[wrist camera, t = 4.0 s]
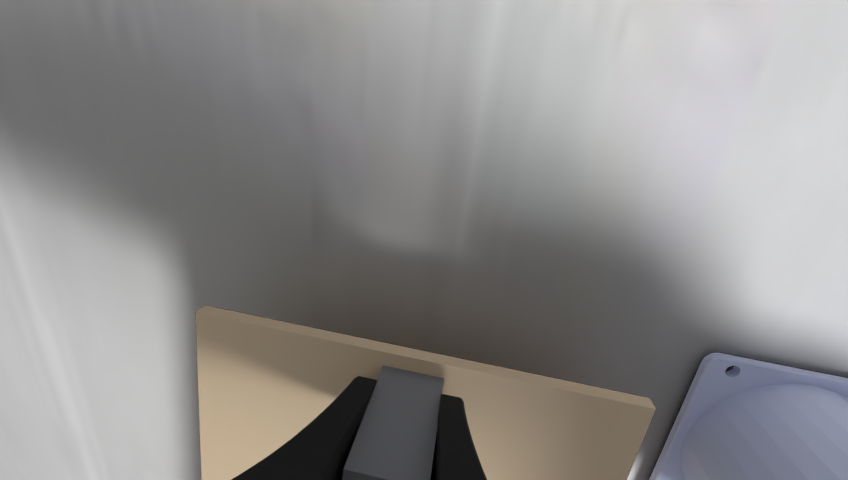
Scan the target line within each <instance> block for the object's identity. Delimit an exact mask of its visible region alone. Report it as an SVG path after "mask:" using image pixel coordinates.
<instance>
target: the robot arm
mask: <svg viewBox="0 0 848 480" xmlns="http://www.w3.org/2000/svg"><path fill="white" fill-rule="evenodd" d="M730 366H734V368H733V369H732V370H729V371H726V369H727V368H728V367H730ZM376 383H377V380H375V379H371V378H366V377H361V376H357V377H356V378H354V379H353V381H352V382H351V383H350V384H349V385H348V386H347V387H346V388H345V390H344V391H343V392H342V393H341V394H340V395H339V396H338V397H337V398H336V399H335V400H334V401H333V402H332V403H331V404H330V405H329V406H328V407H327V408H326V409H325V410H324V411H323V412H322V413H320V414H319V415H318V416H317V417H316V418H315V419H314V420H313V421H312V422H311V423H309V424H308V425H307V426H306V427H305V428H303V429H302V430H301V431H300V432H299V433H298V434H296V435H295V436H294V437H293V438H292V439H290V440H289V441H288V442H286V443H285V444H284V445H282V446H281V447H280V448H278V449H277V450H276V451H274V452H273V453H271V454H270V455H269V456H267V457H266V458H264V459H263V460H261V461H260V462H258V463H257V464H255V465H254V466H252V467H251V468H249V469H247V470H246V471H244V472H243V473H241V474H240V475H238V476H236V477H235V478H233V479H231V480H342V477H343V469H344V466H345V464H346V461H347V458H348V456H349V453H350V450H351V448H352V445H353V443H354V440H355V437H356V435H357V432H358V429H359V427H360V424H361V421H362V419H363V416H364V414H365V411H366V408H367V406H368V404H369V401H370V399H371V396H372V393H373V391H374V388H375V385H376ZM430 480H487V478H486V476H485V473H484V471H483V468H482V466H481V463H480V460H479V458H478V455H477V452H476V449H475V446H474V443H473V440H472V436H471V433H470V429H469V426H468V422H467V418H466V413H465V407H464V401H463V400H462V398H460V397H455V396H450V395H446V394H441V399H440V406H439V413H438V424H437V434H436V442H435V449H434V456H433V463H432V471H431V478H430ZM649 480H848V378H844V377H839V376H834V375H829V374H824V373H819V372H813V371H808V370H803V369H798V368H793V367H788V366H783V365H778V364H773V363H768V362H763V361H758V360H753V359H748V358H743V357H738V356H733V355H728V354H722V353H711V354H708V355H707V356H705V357H704V358H703V360H702V361H701V364H700V366H699V368H698V370H697V373H696V375H695V377H694V379H693V382H692V384H691V386H690V388H689V391H688V393H687V395H686V397H685V400H684V402H683V404H682V407H681V409H680V411H679V413H678V416H677V418H676V420H675V422H674V425H673V427H672V429H671V431H670V434H669V436H668V438H667V441H666V443H665V445H664V447H663V450H662V452H661V454H660V456H659V459H658V461H657V463H656V465H655V468H654V470H653V472H652V474H651V477H650V479H649Z"/></svg>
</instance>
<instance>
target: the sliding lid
mask: <svg viewBox="0 0 848 480" xmlns="http://www.w3.org/2000/svg"><path fill="white" fill-rule="evenodd" d="M195 315H196V342H197V369H198V396H199V422H200V449H201V476H202V480H231V479H233V478H235V477H236V476H238V475H240V474H241V473H243V472H244V471H246V470H247V469H249V468H251V467H252V466H254V465H255V464H257V463H258V462H260V461H261V460H263V459H264V458H266V457H267V456H269V455H270V454H271V453H273V452H274V451H276V450H277V449H278V448H280V447H281V446H282V445H284V444H285V443H286V442H288V441H289V440H290V439H292V438H293V437H294V436H295V435H296V434H298V433H299V432H300V431H301V430H302V429H303V428H305V427H306V426H307V425H308V424H309V423H311V422H312V421H313V420H314V419H315V418H316V417H317V416H318V415H319V414H320V413H322V412H323V411H324V410H325V409H326V408H327V407H328V406H329V405H330V404H331V403H332V402H333V401H334V400H335V399H336V398H337V397H338V396H339V395H340V394H341V393H342V392H343V391H344V390H345V388H346V387H347V386H348V385H349V384H350V383H351V382H352V381H353V379H354V378H356V377H357V376H361V377H366V378H371V379H375V380H377V383H376V385H375V388H374V391H373V393H372V396H371V399H370V401H369V404H368V406H367V408H366V411H365V414H364V416H363V419H362V421H361V424H360V427H359V429H358V432H357V435H356V437H355V440H354V443H353V445H352V448H351V450H350V453H349V456H348V458H347V461H346V464H345V466H344V469H343V477H342V480H430V478H431V471H432V463H433V456H434V449H435V442H436V434H437V424H438V413H439V406H440V399H441V394H446V395H450V396H455V397H460V398H462V400H463V401H464V407H465V413H466V418H467V422H468V426H469V429H470V433H471V436H472V440H473V443H474V446H475V449H476V452H477V455H478V458H479V460H480V463H481V466H482V468H483V471H484V473H485V476H486V478H487V480H627V478H628V475H629V473H630V470H631V468H632V466H633V463H634V461H635V458H636V456H637V454H638V451H639V449H640V446H641V444H642V442H643V439H644V437H645V434H646V432H647V430H648V427H649V425H650V422H651V420H652V418H653V415H654V413H655V410H656V408H655V406H654V405H653V403H652V401H651V399H650V398H647V397H642V396H638V395H633V394H628V393H623V392H618V391H614V390H609V389H604V388H599V387H594V386H590V385H585V384H580V383H575V382H570V381H566V380H561V379H556V378H551V377H546V376H542V375H537V374H532V373H527V372H523V371H518V370H513V369H508V368H503V367H499V366H494V365H489V364H484V363H479V362H475V361H470V360H465V359H460V358H455V357H451V356H446V355H441V354H436V353H431V352H427V351H422V350H417V349H412V348H407V347H403V346H398V345H393V344H388V343H383V342H379V341H374V340H369V339H364V338H360V337H355V336H350V335H345V334H340V333H336V332H331V331H326V330H321V329H316V328H312V327H307V326H302V325H297V324H292V323H288V322H283V321H278V320H273V319H268V318H264V317H259V316H254V315H249V314H244V313H240V312H235V311H230V310H225V309H220V308H216V307H211V306H206V305H205V306H203V307H202V308H201V309H199V310H198V311H196V312H195Z"/></svg>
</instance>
